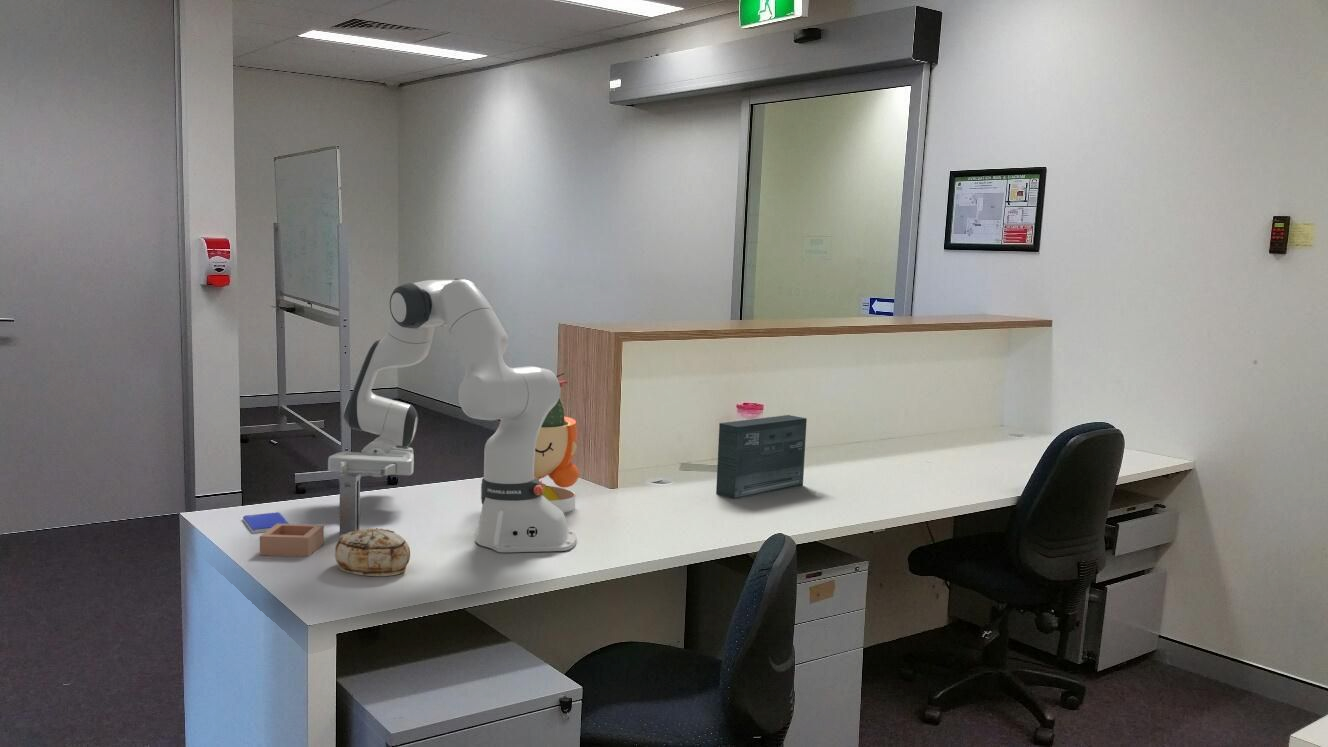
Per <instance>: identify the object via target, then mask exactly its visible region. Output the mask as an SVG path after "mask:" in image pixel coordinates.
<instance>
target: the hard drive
mask: <svg viewBox="0 0 1328 747" xmlns="http://www.w3.org/2000/svg"><path fill="white" fill-rule="evenodd" d="M242 520H243V522H244V523H245V524H246V527H247V528H248V529H249V530H250V531H251V533H252V534H258V533H259V534H260V533H261V534H262V533H265V532H266V531H267V530H269V529H270V528H272V527H273V526H274V525H276V524H277V523H280V524H290V523H289V522H288V521H287V519H286V518H285V517H284V515H282V514H281V512H276V511H275V512H268V513H267V512H265V513H258V514H257V513H256V514H248V515H244V516H243V517H242Z"/></svg>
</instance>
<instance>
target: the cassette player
mask: <svg viewBox="0 0 1328 747" xmlns="http://www.w3.org/2000/svg"><path fill="white" fill-rule="evenodd" d="M807 420H808V419H807V418H806V417H802V416H795V415H792V414H791V415H790V414H786V415H785V414H784V415H777V416H768V417H760V418H751V419H744V420H735V421H725V422H719V424H718V425H719V428H718V447H717V449H718V450H717V464H716V465H717V470H716V486H715V487H716V490H715V492H716V493H715V494H716V495H718V496H723V497H727V498H729V499H734V500H736V499H737V500H738V499H741V498H742V499H743V498H747V497H752V496H756V495H762V494H767V493H771V492H772V493H774V492H778V491H783V490H786V489H793V488H797V487H802V486H804V473H805V472H804V471H805V455H806V454H805V453H806V436H807Z"/></svg>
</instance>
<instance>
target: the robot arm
mask: <svg viewBox="0 0 1328 747" xmlns="http://www.w3.org/2000/svg"><path fill="white" fill-rule="evenodd" d="M389 309H390V314H389V315H390V316H389V319H388V325H387V330H386V333H385V335H384V336H383V338H382V339H378V340H375V341H374V342H373V343H372V345H371V346H370V348H369V349H368V351H367V354H366V356H365V358H364V361H363V362H362V363H363V364H362V365H361V369H360V371H359V374H358V376H357V379H356V381H355V384H354V386H353V389H352V391H351V395H350V397H348V400H347V401H346V404H345V407H344V409H343V416H342V417H343V420H344V421H345V423H346V424H347V426H348V427H349V428H350V429H351V430H355V431H361V432H367V433H370V434H375V435H379V436H378V437H376V438H375V439H374V440H373V441H371V442H369V443H368V444H367V445H365V446H364V447H363V448H362V450H361V451H360V452H355V451H354V452H353V451H350V452H349V451H341V452H339V451H338V452H336V453H334V454H332V455H329V456H328V460H327V469H328V471H330V472H332V473H340V474H343V473H361V474H366V475H368V476H370V477H375V478H382V477H385V476H391V475H393V476H394V475H395V476H396V475H397V476H411V475H413V473H414V468H415V467H414V465H415V462H414V461H415V460H414V457H415V455H414V449H413V447H410V446H411V444H413V442H414V440H415V438H416V435H417V433H418V432H417V431H418V428H419V421H420V418H419V415H418V412H417V410H416V408H415V407H414V406H413V405H412V404H411V403H410V404H409V403H406V402H402V401H400V400H396V399H391V398H387V397H384V396H381V395H377V394H376V393H373V391H372V389H373V387H374V384H375V381H376V378H377V376H378V374H379V371H382V370H386V369H392V368H394V369H395V368H407V367H411V366H414V365H417V364H420V363H421V362H422V361H423V360H425V359H426V357H427V356H428V355H429V352H430V350H431V346H432V343H433V338H434V332H435V327H438V328H440V327H446V328H447V330H448V332H449V335H450V336H451V338H452V340H453V342H454V343H455V345H456V347H457V349H458V352H459V354H460V355H461V358H462V361H463V363H464V369H465V373H464V374H465V376H464V378H463V379H462V381H461V383H460V384H459V388H458V393H457V394H458V395H457V396H458V402H459V406H460V408H461V410H462V411H463V413H464V414H465V415H466V416H467V417H469V418H471V419H476V420H482V421H483V420H485V421H495V420H497V421H498V420H501V422H500V421H499V424H500V425H498V427H497V428H496V431H495V432H494V434H492V435H491V436H490V437H489V438H488V439H487V440H486V442H485V445H484V450H483V451H484V457H483V458H484V460H483V461H484V462H483V477H482V479H481V483H480V485H481V486H480V501H481V504H482V507H481V513H480V514H481V515H480V520H479V525H478V528H477V533H476V536H475V538H474V541H475V543H476V544H478V545H479V546H482V547H484V548H489V549H492V550H494V551H495V552H496V553H497V552H498V553H531V552H564V551H565V552H566V551H569V550H571V549H572V548H574V547H575V546H576V545H577V541H578V540H577V534H576V533H575V532H574V531H572V530H570V529H568V524H567V520H566V516H565V513H563V512H562V510H560V509H559V508H558V507H556V506H555V505H554V504H553V503H551V502H550V501H549V500H547V499H546V498H545V497H544V496H542V494H543V484H544V483H543V480H541V479H540V480H539V481H538V480H537V479H535V478H534V462H535V448H536V442H537V438H538V435H539V432H540V429H541V426H542V424H543V422H544V420H545V418H546V416H547V414H548V413H549V411H550V410H551V409H552V408H553V407H554V406H555V405H556V404H557V402H558V400H559V399H560V398H561V387H560V384H559V381H560V380H559V379H558V377H556V376H557V375H556V374H555V373H554V372H553V371H552V370H550V369H547V368H544V367H538V366H533V365H529V366H518V367H517V366H516V367H510V366H508V365H507V364H506V362H505V360H504V357H503V356H504V355H505V353H506V352H507V350H508V347H509V342H510V340H509V335H508V333H507V332H506V330H505V329H504V327H503V325H502V323H501V322H500V320H499V318H498V316H497V314H496V312H495V311H494V309H493V307H492V306H491V304H490V303H489V301H488V300H487V298H486V297H485V296H484V294H483V293H482V292H481V290H480V289H479V288H478V286H477V284H475V282H473V281H471V280H468V279H465V278H464V279H463V278H455V279H428V280H427V279H426V280H421V281H416V282H407V283H403V284H401V285H398V286H397V287H395V288H394V289H393V291H392V293H391V295H390V299H389ZM558 380H559V381H558ZM559 397H560V398H559Z"/></svg>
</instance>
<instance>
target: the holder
mask: <svg viewBox="0 0 1328 747" xmlns="http://www.w3.org/2000/svg"><path fill="white" fill-rule="evenodd" d="M324 526H325V525H324V524H310V523H309V524H307V523H289V524H280V523H277V524H276V525H274V526H273V527H272V528H270V529H269V530H267V531H266V532H262V533H261V535H259V556H273V557H274V556H279V557H309V556H310V557H311V555H312V554H313V553H314V552H315V551H316V550H318V549H319V548H320V547H321V546H323V544H324V543H325V540H324V538H325V534H324V533H325V528H324Z"/></svg>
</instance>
